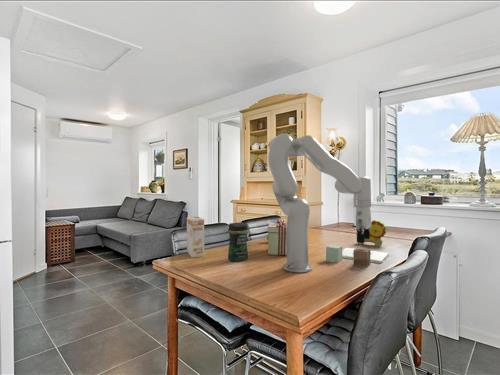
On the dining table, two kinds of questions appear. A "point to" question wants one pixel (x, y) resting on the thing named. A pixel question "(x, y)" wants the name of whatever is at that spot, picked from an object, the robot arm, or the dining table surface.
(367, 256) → the walnut block
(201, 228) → the coffeecake box
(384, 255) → the board
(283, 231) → the gift box
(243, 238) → the coffee jar
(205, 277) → the dining table surface
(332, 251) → the sage block
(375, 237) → the toy lion
